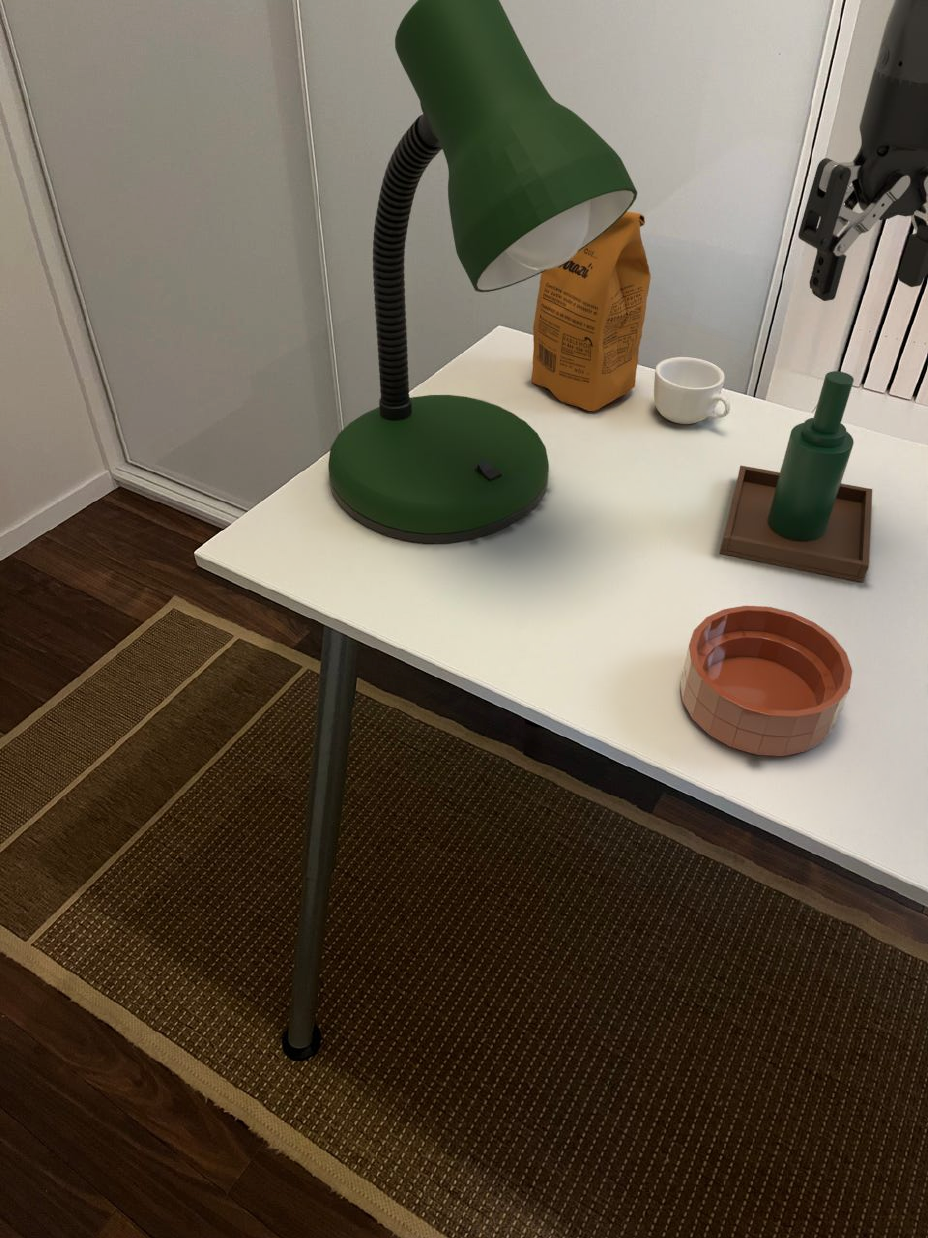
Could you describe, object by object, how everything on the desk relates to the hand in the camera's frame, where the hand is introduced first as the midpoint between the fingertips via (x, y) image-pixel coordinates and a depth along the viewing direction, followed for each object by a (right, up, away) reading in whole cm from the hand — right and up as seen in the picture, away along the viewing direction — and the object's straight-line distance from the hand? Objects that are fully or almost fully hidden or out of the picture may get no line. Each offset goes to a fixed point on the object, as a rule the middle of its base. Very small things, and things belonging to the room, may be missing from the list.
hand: (866, 290), depth 77 cm
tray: (0, -18, +16) cm, 24 cm away
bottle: (0, -18, +16) cm, 24 cm away
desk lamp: (-33, -14, +21) cm, 42 cm away
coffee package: (-19, +1, +38) cm, 42 cm away
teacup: (-7, -4, +32) cm, 33 cm away
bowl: (-9, -34, -1) cm, 35 cm away
